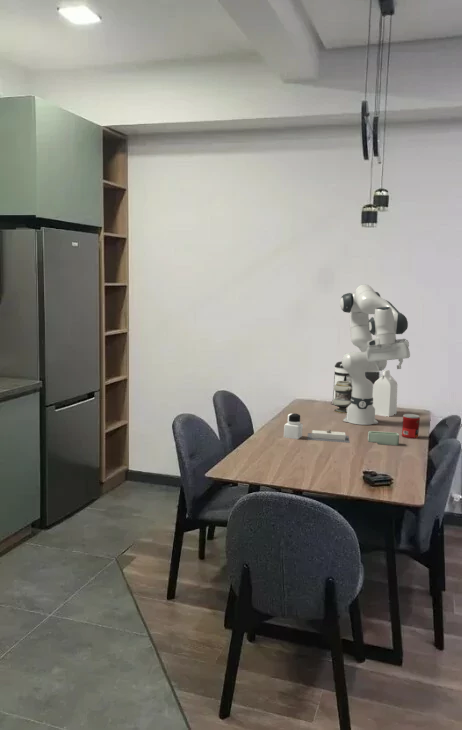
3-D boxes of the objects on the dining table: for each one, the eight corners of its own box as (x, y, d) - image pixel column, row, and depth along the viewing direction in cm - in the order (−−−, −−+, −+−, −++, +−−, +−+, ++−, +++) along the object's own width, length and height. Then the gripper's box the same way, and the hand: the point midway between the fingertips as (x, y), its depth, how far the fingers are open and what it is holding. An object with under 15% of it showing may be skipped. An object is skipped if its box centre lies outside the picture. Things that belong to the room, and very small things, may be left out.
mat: (307, 434, 317) (307, 433, 317) (348, 437, 314) (348, 435, 314) (307, 441, 303) (307, 439, 303) (349, 444, 301) (349, 442, 300)
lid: (311, 435, 313) (312, 427, 312) (344, 437, 311) (345, 430, 310) (311, 438, 307) (312, 430, 306) (345, 440, 305) (345, 432, 304)
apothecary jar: (332, 408, 386) (333, 379, 384) (352, 410, 384) (354, 380, 382) (332, 412, 374) (334, 382, 372) (353, 414, 373) (355, 383, 370)
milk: (378, 411, 385) (381, 368, 382) (396, 413, 379) (399, 370, 375) (370, 413, 376) (373, 370, 372) (388, 416, 369) (391, 372, 366)
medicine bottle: (302, 437, 310) (303, 413, 308) (297, 440, 304) (298, 416, 302) (288, 435, 313) (289, 411, 311) (283, 438, 306) (284, 414, 305)
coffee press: (330, 406, 393) (333, 358, 389) (330, 402, 409) (333, 355, 405) (359, 408, 390) (362, 360, 387) (358, 403, 406) (361, 357, 402)
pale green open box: (367, 440, 309) (368, 430, 308) (397, 443, 307) (397, 432, 306) (368, 443, 304) (369, 433, 303) (398, 445, 302) (399, 435, 301)
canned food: (418, 439, 316) (420, 417, 315) (402, 437, 318) (403, 416, 317) (417, 435, 324) (419, 414, 322) (401, 434, 325) (402, 413, 324)
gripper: (410, 338, 297) (413, 367, 296) (368, 343, 308) (371, 371, 308) (405, 338, 292) (409, 368, 291) (363, 343, 303) (366, 372, 303)
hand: (389, 369), depth 300 cm, fingers open, 8 cm apart
